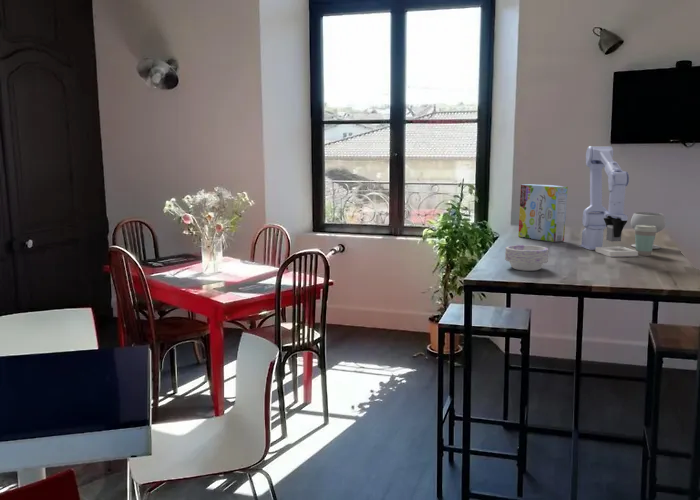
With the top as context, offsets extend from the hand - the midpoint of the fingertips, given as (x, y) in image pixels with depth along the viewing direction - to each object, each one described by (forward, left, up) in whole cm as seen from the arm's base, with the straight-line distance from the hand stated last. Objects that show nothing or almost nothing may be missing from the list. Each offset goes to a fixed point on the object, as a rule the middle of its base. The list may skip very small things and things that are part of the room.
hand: (613, 236), depth 259 cm
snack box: (-50, -9, -9) cm, 52 cm away
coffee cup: (-6, +17, -9) cm, 20 cm away
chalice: (-23, +28, -9) cm, 38 cm away
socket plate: (-9, +6, -9) cm, 14 cm away
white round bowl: (+18, -44, -9) cm, 48 cm away
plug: (0, 0, -2) cm, 2 cm away
